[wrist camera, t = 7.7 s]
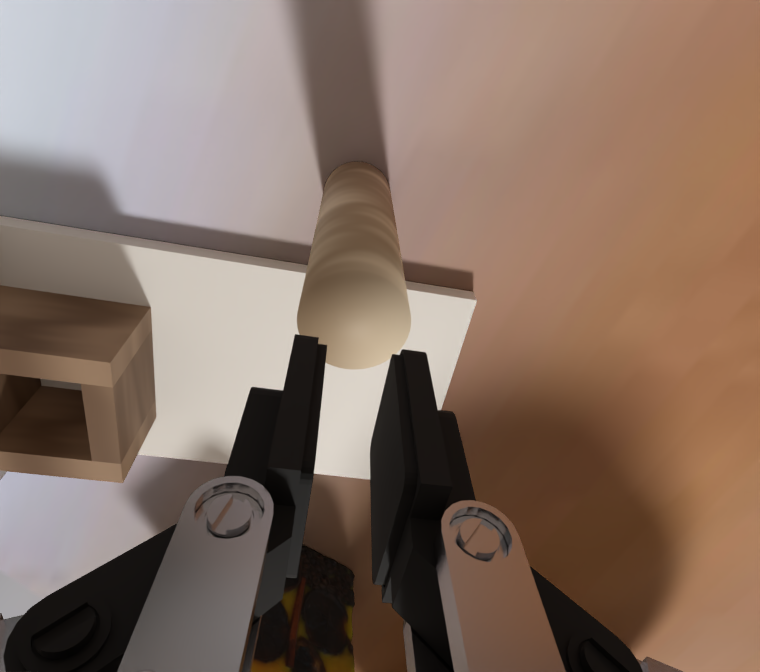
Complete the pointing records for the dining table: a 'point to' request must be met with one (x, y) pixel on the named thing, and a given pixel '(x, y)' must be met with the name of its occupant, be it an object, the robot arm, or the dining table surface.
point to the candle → (309, 621)
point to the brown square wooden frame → (77, 365)
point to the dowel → (355, 272)
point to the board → (225, 335)
